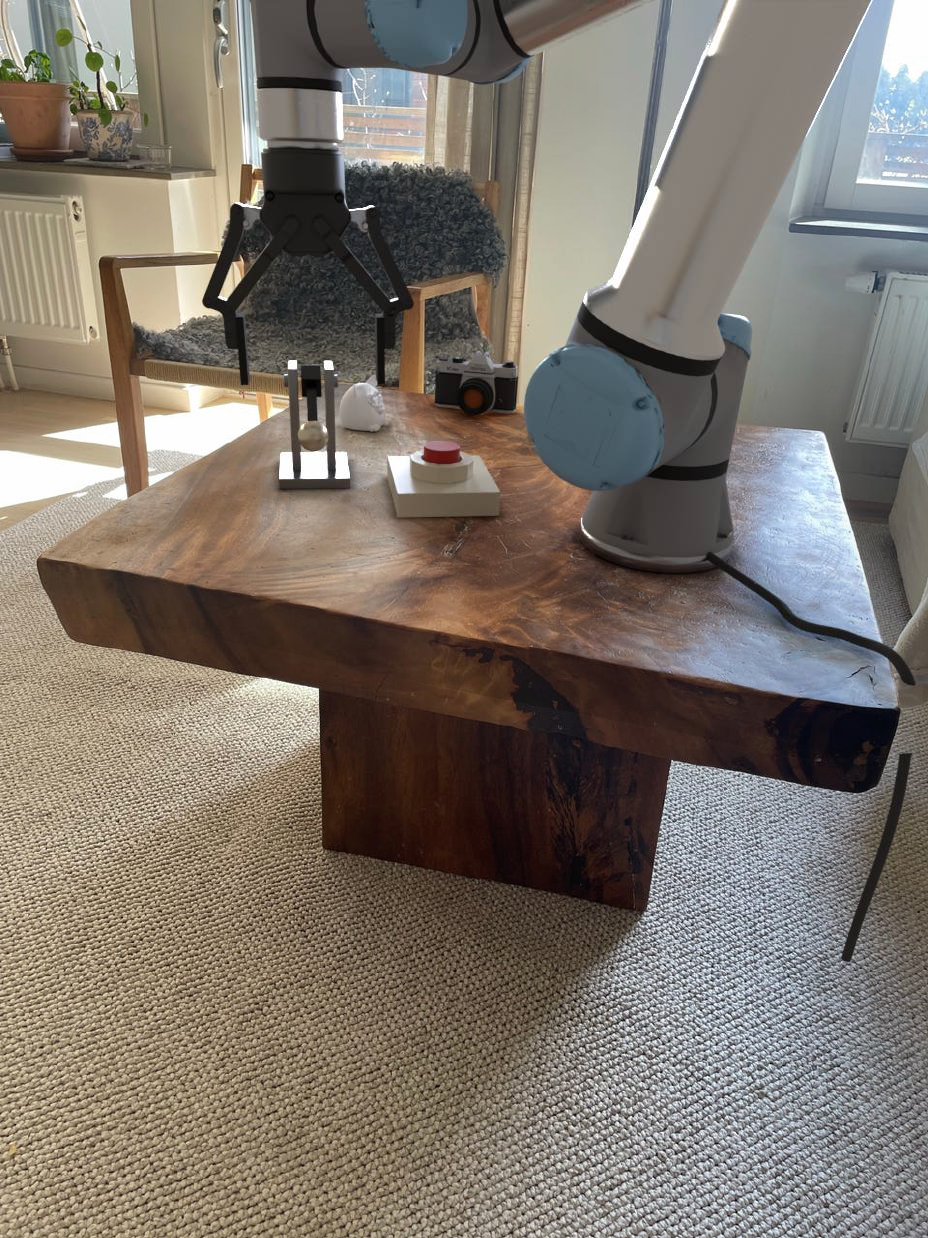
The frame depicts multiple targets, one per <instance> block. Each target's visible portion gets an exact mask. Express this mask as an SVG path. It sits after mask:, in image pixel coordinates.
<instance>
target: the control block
mask: <svg viewBox="0 0 928 1238" xmlns="http://www.w3.org/2000/svg"><path fill="white" fill-rule="evenodd" d="M386 457H387V458H386V463H387V464H386V467H387V468H386V471H387V472H386V473H387V474H386V477H387V482H388V486H389V490H390V494H391V498H392V502H393V505H394V510H395V513H396V517H397V518H452V517H454V518H455V517H456V518H457V517H499V516H500V505H501V491H500V489H499V487H498V485H497V483H496V482H495V481H494V478H493V476H492V475H491V473H490V472H489V470H488V468H487V466H486V464H485V463H484V461H483V459H482V457H481V456H480V455H471V454H469V453H466V452H465V451H462V450H460V462H458V463H453V464H435V463H429V462H427V461H424V449H421V450H416V451H415V452H413V453H411V454H410V455H387V456H386Z"/></svg>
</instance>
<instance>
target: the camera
mask: <svg viewBox="0 0 928 1238" xmlns="http://www.w3.org/2000/svg"><path fill="white" fill-rule="evenodd" d="M489 354H490V351H485V352H484V353H483V352H482V350H478V351H476V353H475V355H474V356H473V357H472V358H471V359H470V360H469V361H468V360H467V358H464V357H463V356H459V355H458V356H457V355H456V356H452V357H446V356H440V357H438V358H437V360H436V361H435V366H434V371H433V372H434V374H435V376H434V377H435V379H434V385H435V386H434V401H433V402H434V406H435V407H439V408H449V409H455V410H456V409H457V410H461V411H462V412H463V413H464V414H466V415H468V416H470V417H471V416H472V417H477V416H481V415H484V414H485V415H486V414H489V413H500V414H514V413H515V411H516V410H517V399H518V385H519V384H518V383H519V376H518V375H519V374H518V373H519V365H515V362H514V361H513V360H504V363H493V361H492V359H491V358H490V355H489Z"/></svg>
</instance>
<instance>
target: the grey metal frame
mask: <svg viewBox="0 0 928 1238" xmlns="http://www.w3.org/2000/svg"><path fill="white" fill-rule="evenodd" d="M333 363H334V362H333V361H332V360H324V361H323V380H324V381H323V383H324V412H325V413H324V414H325V418H324V419H325V427H326V429H327V431H328V442H327V444H326V446H325V448H326V449H325V451H315V452H312V451H308V452H307V451H306V452H305V451H304V452H302V446H301V444H300V443H299V440H298V431H299V429H300V427H301V419H300V397H299V396H300V394H299V373H298V372H299V371H298V361H297V360H288V361H287V374H285V373H284V374H283V386H284V387H283V388H288V405H289V407H288V408H289V425H290V445H291V446H290V447H291V448H290V449H291V451H289V452H288V451H287V452H284V451H283V452H282V451H281V452H280V455H279V469H278V471H279V472H278V489H279V490H300V489H301V490H302V489H303V490H305V489H306V490H307V489H308V490H309V489H310V490H311V489H313V490H314V489H351V473H350V467H349V459H348V453H347V451H337V450H336V449H337V446H336V412H335V410H336V409H335V408H336V407H335V404H336V403H335V402H336V401H335V389H337V388H339V375H338V374H335V369H334V364H333Z"/></svg>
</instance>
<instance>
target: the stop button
mask: <svg viewBox="0 0 928 1238" xmlns="http://www.w3.org/2000/svg"><path fill="white" fill-rule="evenodd" d="M423 450H424V461H427V462H429V463H435V464H453V463H458V462H460V451H461V445H460V444H459V443H457V442H454V441H449V440H431V441H427V442H425V443H424V444H423Z"/></svg>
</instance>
